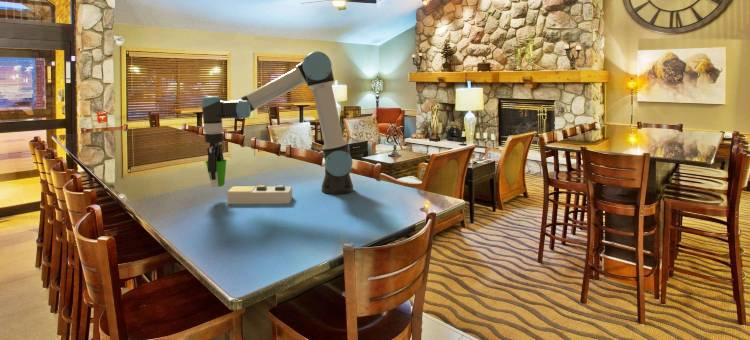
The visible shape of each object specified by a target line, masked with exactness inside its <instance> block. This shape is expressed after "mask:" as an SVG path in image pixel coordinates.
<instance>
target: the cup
mask: <svg viewBox="0 0 750 340" xmlns="http://www.w3.org/2000/svg"><path fill="white" fill-rule="evenodd" d="M204 163H205V164H206V168H207V170H208V159H207V160H205V161H204ZM216 164H217V165H216V172H217V176H218V187H217V188H220V187H223V186H224V185H225V182H226V181H225V180H226V169H227V168H226V167H227V159H225V158H224V159H221V161H217V162H216ZM212 169H213V168H212ZM207 172H208V171H207ZM208 176H209V180H210V181H211V176H210V172H208Z"/></svg>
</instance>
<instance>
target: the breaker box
mask: <svg viewBox="0 0 750 340" xmlns="http://www.w3.org/2000/svg"><path fill="white" fill-rule="evenodd" d="M257 187H258V186H255V185H252V186H251V185H245V186H244V185H243V186H242V185H240V186H239V185H235V186H232V187H230V188H229V189H228V190H227V193H226V196H227V197H226V198H227V205H256V204H257V205H259V204H260V205H264V204H265V205H266V204H267V205H268V204H269V205H275V204H277V205H283V204H290V202H291V200H292V199H293V186H285V190H283V191H275V187H276V186H266V188H267V190H266V191H257Z"/></svg>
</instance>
